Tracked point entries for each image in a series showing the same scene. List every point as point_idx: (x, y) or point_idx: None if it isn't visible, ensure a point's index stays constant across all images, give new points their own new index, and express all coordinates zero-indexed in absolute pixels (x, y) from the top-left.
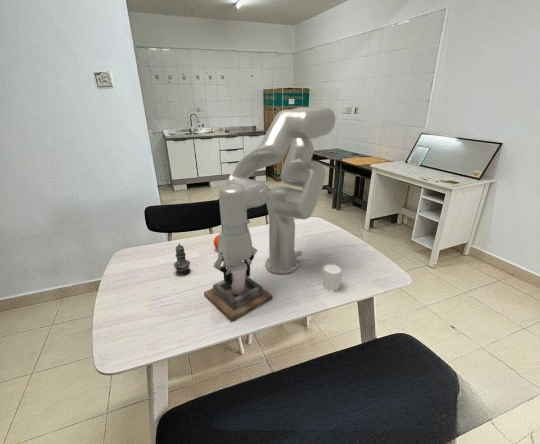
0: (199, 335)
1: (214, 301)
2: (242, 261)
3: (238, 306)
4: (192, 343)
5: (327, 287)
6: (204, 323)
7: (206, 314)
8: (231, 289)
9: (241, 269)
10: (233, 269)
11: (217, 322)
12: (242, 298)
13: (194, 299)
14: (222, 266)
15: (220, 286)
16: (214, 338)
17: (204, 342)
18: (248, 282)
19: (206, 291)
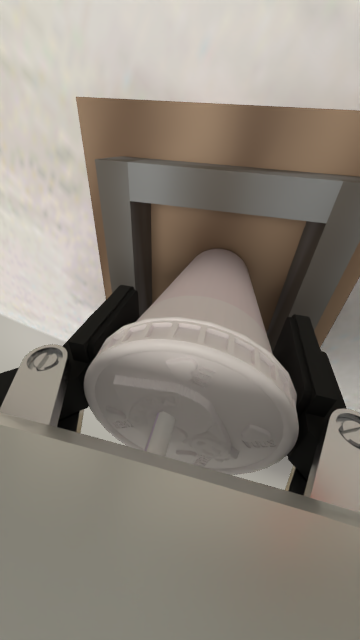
0: (24, 299)
1: (98, 229)
2: (294, 430)
3: None
4: (4, 306)
5: None
6: (46, 274)
7: (62, 243)
8: (218, 216)
9: (177, 458)
10: (124, 422)
11: (83, 301)
12: None
13: (34, 84)
14: (9, 390)
15: (130, 219)
16: (58, 334)
17: (33, 325)
18: (289, 305)
19: (91, 103)
